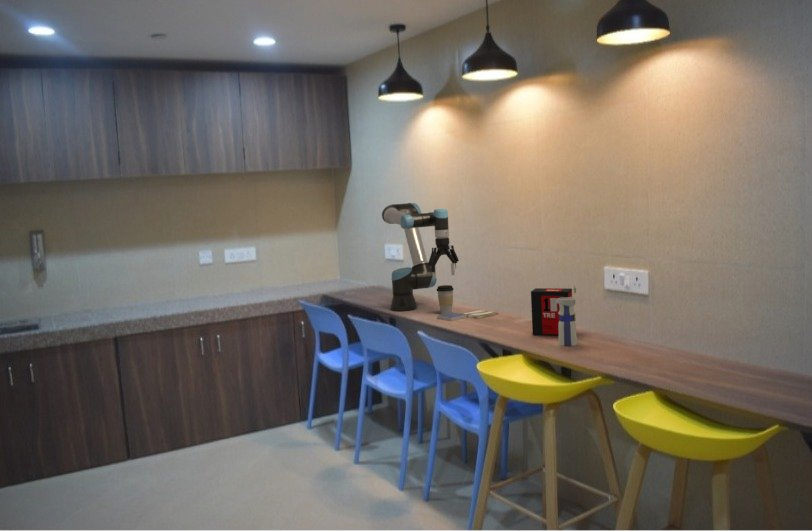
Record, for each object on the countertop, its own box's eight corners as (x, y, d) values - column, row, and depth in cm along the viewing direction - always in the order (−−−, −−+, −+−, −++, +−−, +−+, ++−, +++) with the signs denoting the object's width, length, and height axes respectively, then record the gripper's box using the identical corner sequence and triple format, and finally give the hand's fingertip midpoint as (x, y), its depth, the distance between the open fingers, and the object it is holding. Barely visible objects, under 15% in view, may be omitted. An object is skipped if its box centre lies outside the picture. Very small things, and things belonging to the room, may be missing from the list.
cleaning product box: (532, 335, 312) (530, 291, 309) (537, 331, 320) (535, 288, 317) (569, 336, 305) (567, 291, 303) (573, 332, 313) (571, 288, 311)
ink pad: (437, 318, 364) (437, 315, 363) (452, 315, 370) (452, 312, 370) (451, 321, 355) (451, 317, 355) (466, 317, 362) (466, 314, 362)
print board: (458, 315, 368) (458, 313, 368) (478, 311, 377) (478, 309, 377) (478, 318, 356) (478, 316, 356) (498, 314, 365) (498, 311, 365)
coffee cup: (453, 315, 371) (452, 287, 369) (436, 315, 373) (434, 287, 371) (456, 311, 380) (454, 284, 378) (439, 312, 382) (437, 285, 380)
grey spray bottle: (578, 341, 295) (575, 283, 292) (578, 346, 286) (576, 286, 284) (558, 341, 297) (556, 284, 294) (558, 346, 288) (555, 287, 285)
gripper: (429, 239, 361) (431, 280, 363) (463, 235, 377) (465, 274, 379) (420, 239, 367) (422, 279, 369) (454, 235, 382) (456, 273, 385)
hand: (444, 276), depth 374 cm, fingers open, 13 cm apart
